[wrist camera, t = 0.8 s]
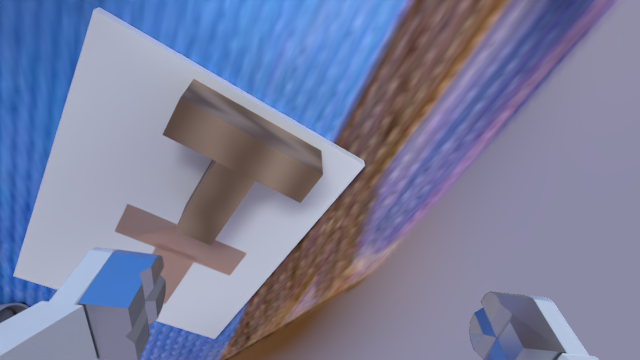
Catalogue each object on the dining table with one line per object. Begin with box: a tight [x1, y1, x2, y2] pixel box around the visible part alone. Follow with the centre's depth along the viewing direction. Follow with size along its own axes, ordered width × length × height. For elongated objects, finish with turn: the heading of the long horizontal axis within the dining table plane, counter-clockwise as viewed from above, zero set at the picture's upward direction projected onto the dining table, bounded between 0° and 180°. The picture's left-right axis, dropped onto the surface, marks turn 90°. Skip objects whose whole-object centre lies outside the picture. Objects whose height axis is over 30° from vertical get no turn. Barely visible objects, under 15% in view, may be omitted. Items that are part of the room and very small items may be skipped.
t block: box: [162, 79, 323, 245], centre depth 37 cm, size 14×14×4 cm
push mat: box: [13, 7, 365, 339], centre depth 44 cm, size 28×38×1 cm
